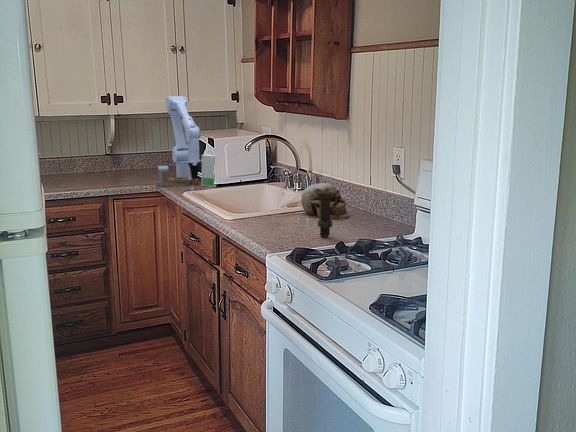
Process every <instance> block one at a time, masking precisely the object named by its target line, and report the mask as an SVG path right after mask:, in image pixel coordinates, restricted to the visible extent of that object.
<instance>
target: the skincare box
mask: <svg viewBox="0 0 576 432" xmlns="http://www.w3.org/2000/svg"><path fill="white" fill-rule="evenodd" d="M211 154H212V153H206V154H201V160H202V161H201V187H208V188H217V187H216V185H215V184H214V181H215V174H214V165H215V156H214V155H211Z"/></svg>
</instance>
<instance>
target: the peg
mask: <svg viewBox="0 0 576 432" xmlns="http://www.w3.org/2000/svg"><path fill="white" fill-rule="evenodd" d="M190 177H191V180H190V181H191V184H192V185H194V184H195V185H196V184H198V178H197V179H193V178H192V173H191V172H190Z"/></svg>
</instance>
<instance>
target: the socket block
mask: <svg viewBox="0 0 576 432" xmlns="http://www.w3.org/2000/svg"><path fill="white" fill-rule="evenodd" d="M163 187H170V188H171V187H190V180H189V178H188V177H177V176H176V177H162V188H163Z"/></svg>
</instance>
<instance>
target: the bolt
mask: <svg viewBox="0 0 576 432" xmlns="http://www.w3.org/2000/svg"><path fill="white" fill-rule="evenodd" d="M317 196H318V197H319V198H320V218H319V220H318V221H317V226H318V227H319V230H320V231H319V234H320V235H319V236H320V237H321V238H322V239H324V238H325V237H326V238H328V237H329V236H330V229H331V228H332V227H333V220H332V219H330V202H331V198H332V197H334V192H332V191H319V192H317Z"/></svg>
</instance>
